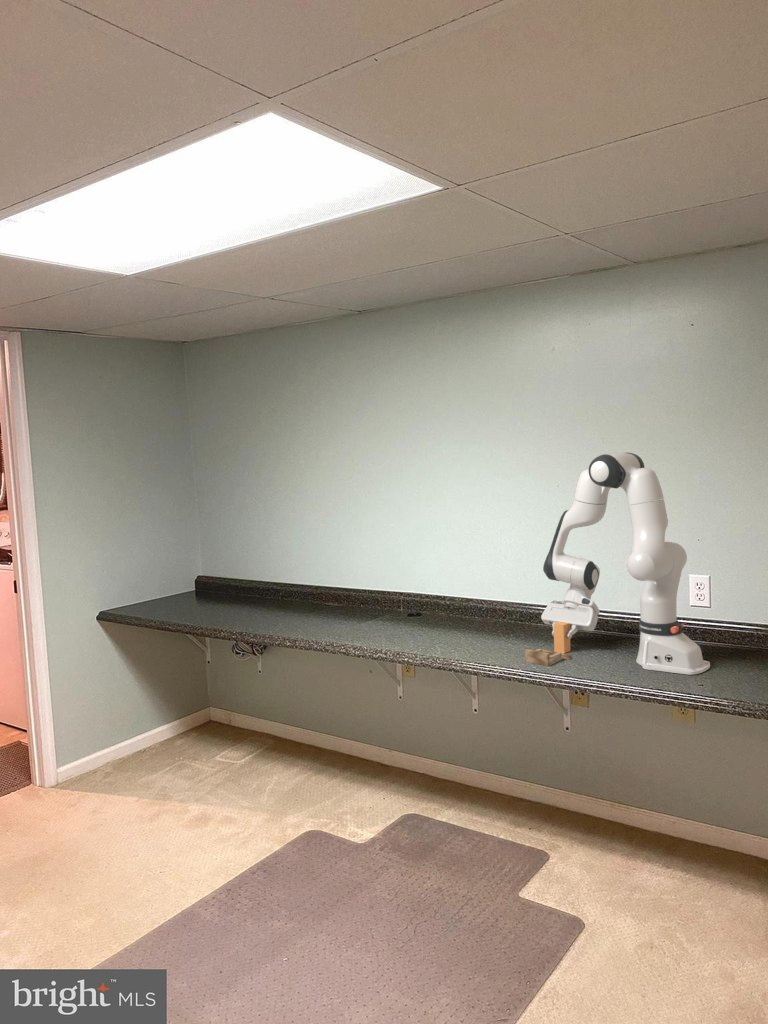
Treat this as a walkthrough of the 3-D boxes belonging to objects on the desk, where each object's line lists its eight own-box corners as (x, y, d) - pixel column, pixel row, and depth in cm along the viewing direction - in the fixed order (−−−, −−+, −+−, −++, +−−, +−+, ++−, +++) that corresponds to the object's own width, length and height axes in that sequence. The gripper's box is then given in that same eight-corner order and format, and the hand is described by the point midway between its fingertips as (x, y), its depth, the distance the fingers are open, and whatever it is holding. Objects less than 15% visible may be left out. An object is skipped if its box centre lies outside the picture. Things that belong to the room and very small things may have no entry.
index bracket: (561, 659, 261) (561, 648, 260) (547, 666, 255) (547, 654, 254) (539, 655, 267) (539, 644, 266) (525, 661, 261) (525, 650, 261)
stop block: (570, 650, 271) (569, 622, 270) (564, 653, 268) (563, 625, 267) (560, 648, 274) (559, 621, 273) (554, 651, 271) (553, 623, 270)
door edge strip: (571, 658, 262) (570, 654, 262) (568, 659, 261) (568, 656, 261) (540, 652, 270) (540, 649, 270) (538, 653, 269) (538, 650, 269)
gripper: (546, 595, 281) (532, 627, 275) (597, 601, 267) (583, 635, 261) (553, 605, 285) (539, 636, 279) (604, 612, 270) (590, 645, 264)
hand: (561, 636), depth 270 cm, fingers closed on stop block, 4 cm apart
